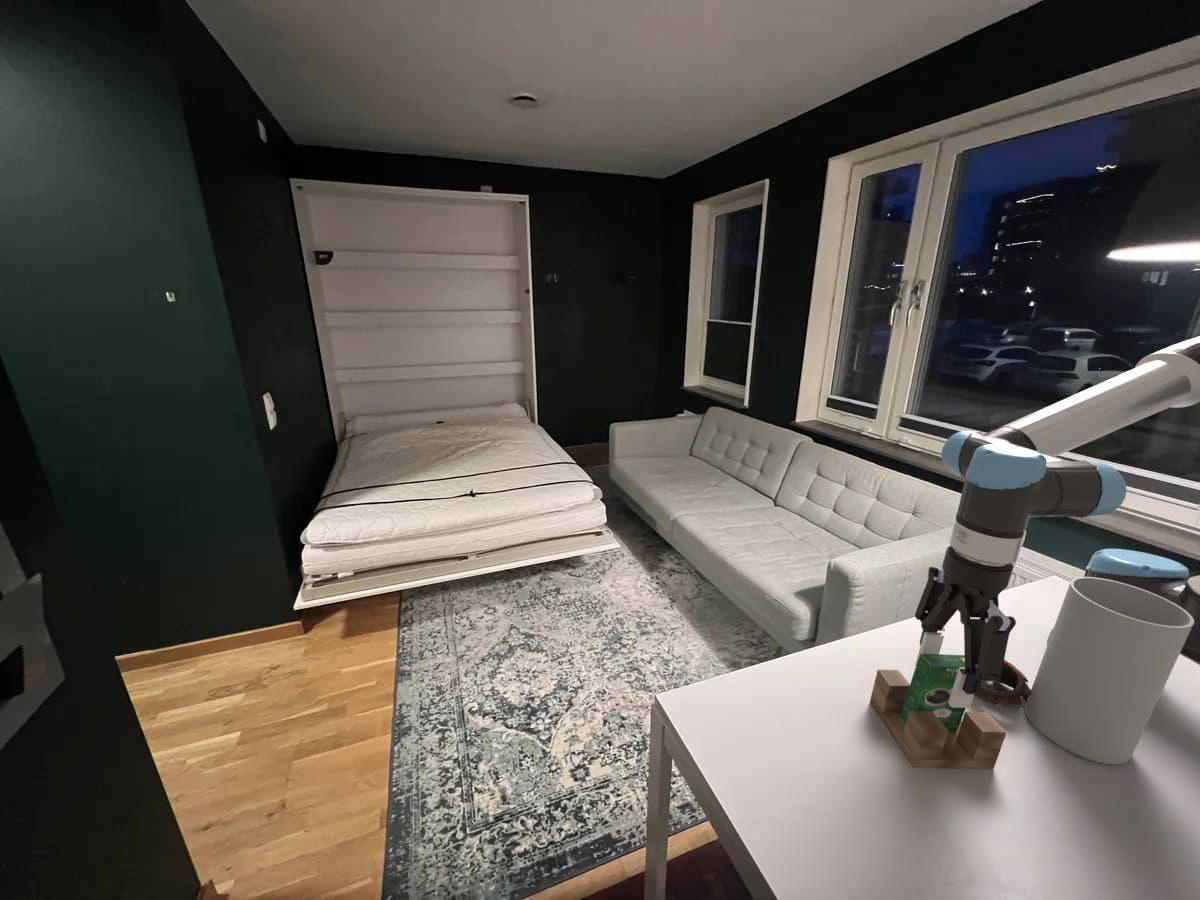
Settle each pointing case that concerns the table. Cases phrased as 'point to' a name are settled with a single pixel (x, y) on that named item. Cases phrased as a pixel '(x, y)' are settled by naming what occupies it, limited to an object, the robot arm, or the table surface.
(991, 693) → the brown ring-shaped frame
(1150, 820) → the table surface
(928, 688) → the coffee box
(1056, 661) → the cylinder vase
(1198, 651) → the robot arm
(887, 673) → the walnut cross socket
